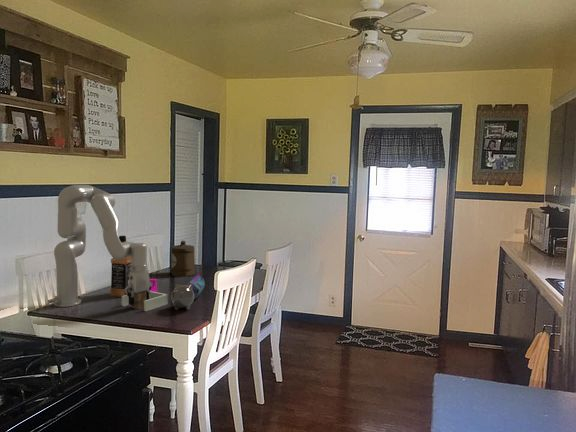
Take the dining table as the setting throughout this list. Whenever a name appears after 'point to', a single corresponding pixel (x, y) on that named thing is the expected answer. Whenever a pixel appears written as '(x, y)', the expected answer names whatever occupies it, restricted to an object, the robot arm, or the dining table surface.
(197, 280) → the pencil case
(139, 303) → the block
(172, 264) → the brown rounded container
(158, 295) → the u-shaped bracket
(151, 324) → the dining table surface
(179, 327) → the dining table surface
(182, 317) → the dining table surface
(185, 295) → the piggy bank
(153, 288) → the toy block
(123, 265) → the whiskey bottle
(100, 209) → the robot arm
